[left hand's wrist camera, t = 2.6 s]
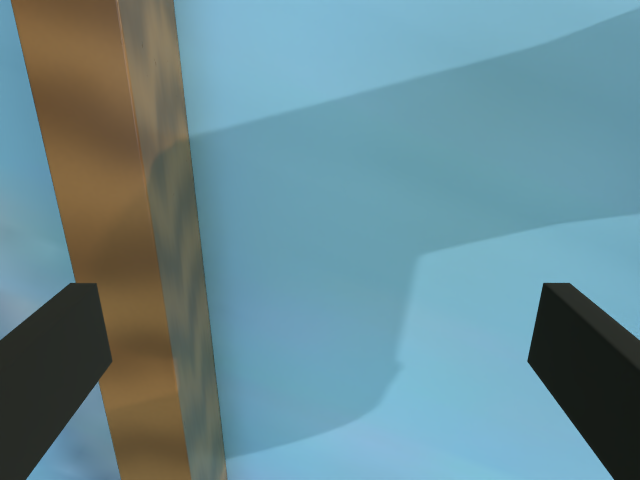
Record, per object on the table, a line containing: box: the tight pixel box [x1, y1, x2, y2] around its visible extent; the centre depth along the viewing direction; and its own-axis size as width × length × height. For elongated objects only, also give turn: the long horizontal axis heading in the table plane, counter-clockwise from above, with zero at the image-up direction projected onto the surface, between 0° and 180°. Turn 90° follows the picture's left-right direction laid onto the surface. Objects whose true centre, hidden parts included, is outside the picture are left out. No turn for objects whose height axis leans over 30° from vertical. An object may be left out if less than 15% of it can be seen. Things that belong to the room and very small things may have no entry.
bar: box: [11, 0, 227, 480], centre depth 31 cm, size 66×5×8 cm, turn 1°
